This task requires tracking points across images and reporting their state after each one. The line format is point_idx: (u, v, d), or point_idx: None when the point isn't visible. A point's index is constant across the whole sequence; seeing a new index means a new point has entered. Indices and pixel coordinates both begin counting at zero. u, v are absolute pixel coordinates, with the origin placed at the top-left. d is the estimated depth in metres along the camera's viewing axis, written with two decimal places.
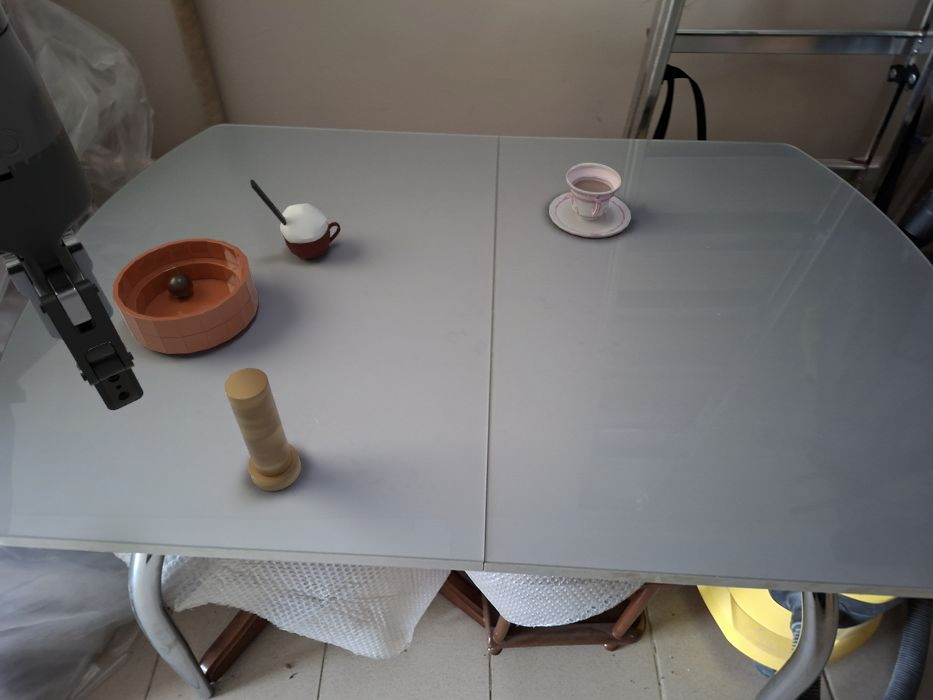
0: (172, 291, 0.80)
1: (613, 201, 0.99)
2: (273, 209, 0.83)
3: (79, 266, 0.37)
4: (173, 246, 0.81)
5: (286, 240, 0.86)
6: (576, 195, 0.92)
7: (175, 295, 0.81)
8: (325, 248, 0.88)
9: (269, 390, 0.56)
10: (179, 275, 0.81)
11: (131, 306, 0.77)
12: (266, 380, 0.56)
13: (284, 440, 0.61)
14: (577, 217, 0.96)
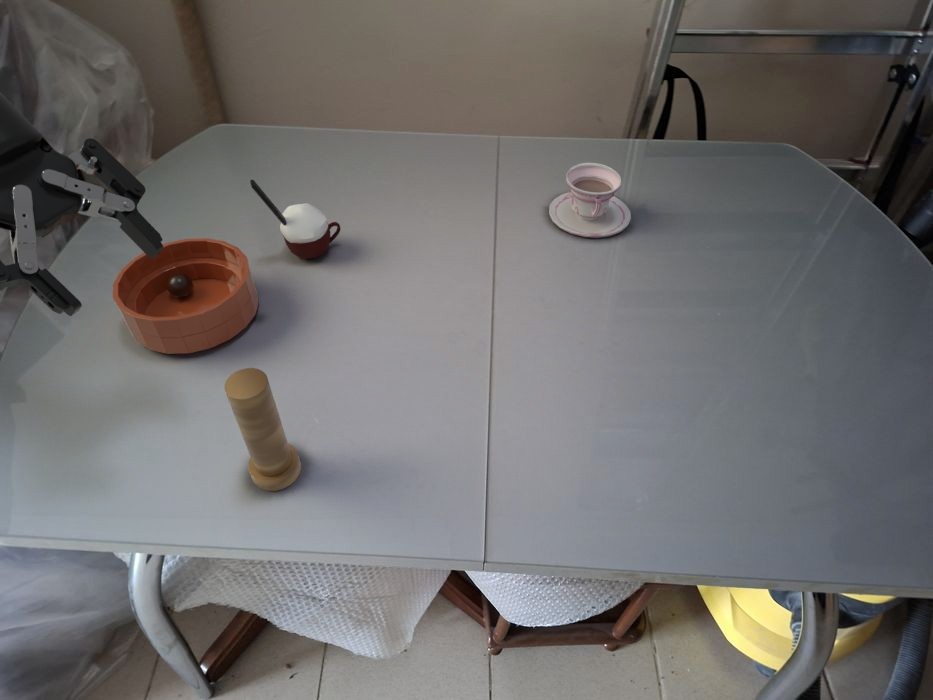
0: (172, 291, 0.80)
1: (613, 201, 0.99)
2: (273, 209, 0.83)
3: None
4: (173, 246, 0.81)
5: (286, 240, 0.86)
6: (576, 195, 0.92)
7: (175, 295, 0.81)
8: (325, 248, 0.88)
9: (269, 390, 0.56)
10: (179, 275, 0.81)
11: (131, 306, 0.77)
12: (266, 380, 0.56)
13: (284, 440, 0.61)
14: (577, 217, 0.96)
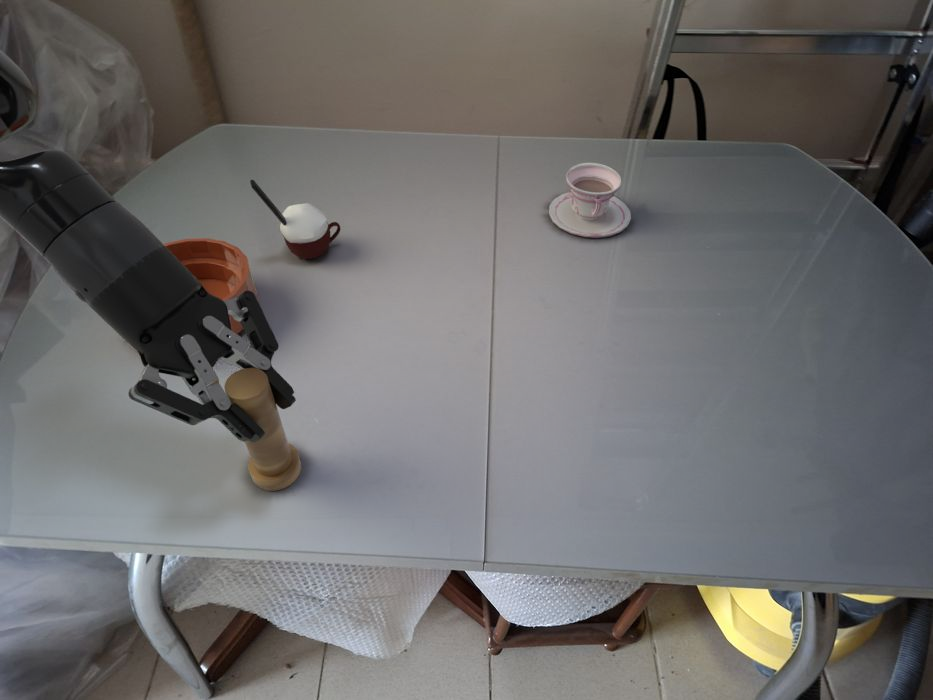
0: None
1: (613, 201, 0.99)
2: (273, 209, 0.83)
3: None
4: (173, 246, 0.81)
5: (286, 240, 0.86)
6: (576, 195, 0.92)
7: None
8: (325, 248, 0.88)
9: (269, 390, 0.56)
10: None
11: None
12: (266, 380, 0.56)
13: (284, 440, 0.61)
14: (577, 217, 0.96)
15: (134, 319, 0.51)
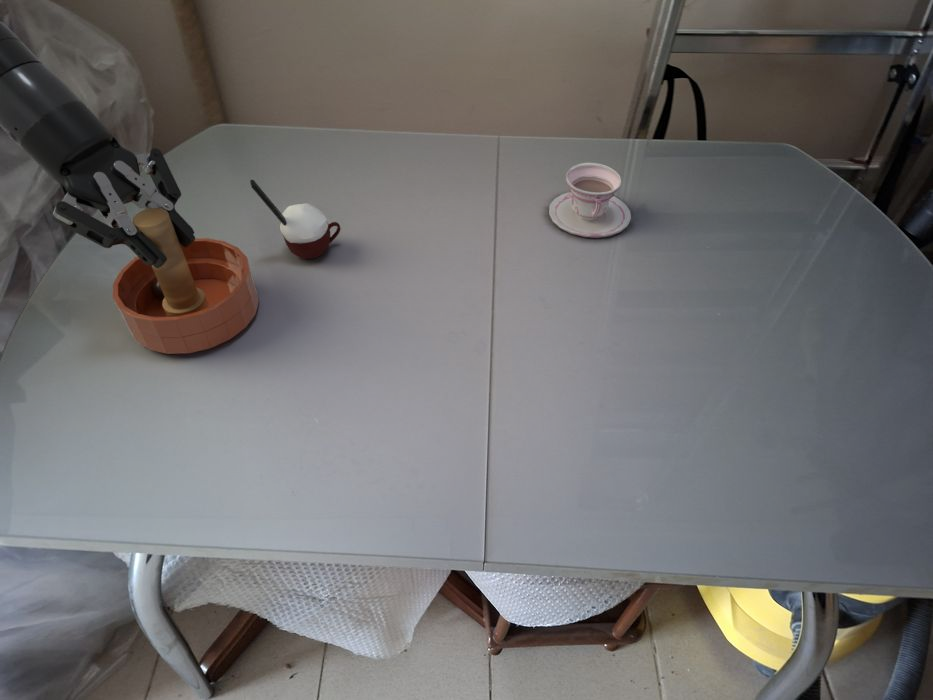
0: (161, 299, 0.81)
1: (613, 201, 0.99)
2: (273, 209, 0.83)
3: None
4: None
5: (286, 240, 0.86)
6: (576, 195, 0.92)
7: None
8: (325, 248, 0.88)
9: (170, 224, 0.70)
10: None
11: (131, 306, 0.77)
12: (167, 215, 0.69)
13: (189, 276, 0.75)
14: (577, 217, 0.96)
15: (55, 153, 0.64)
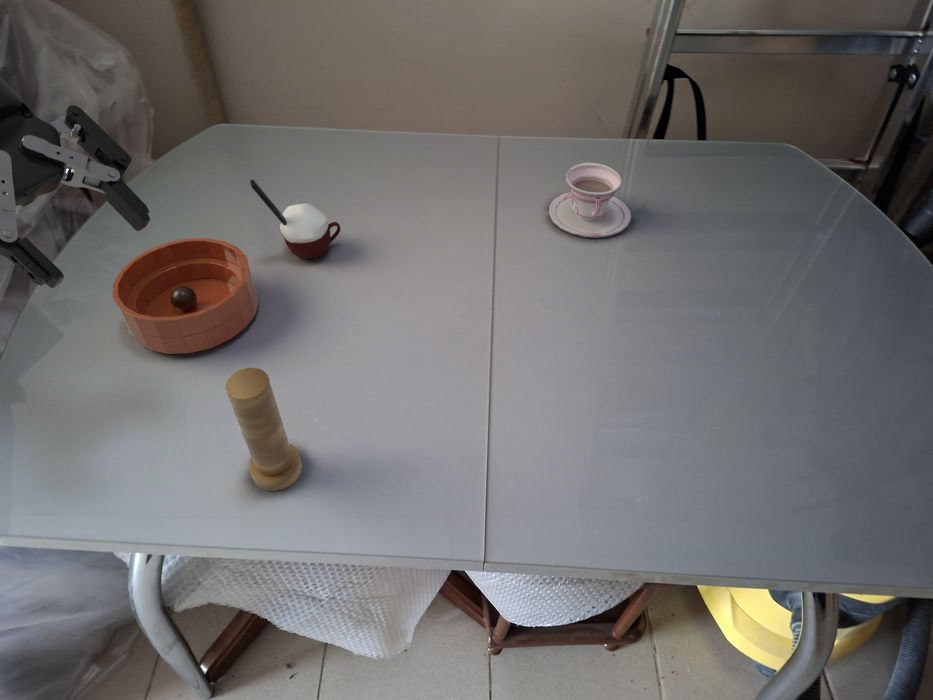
0: None
1: (613, 201, 0.99)
2: (273, 209, 0.83)
3: None
4: (173, 246, 0.81)
5: (286, 240, 0.86)
6: (576, 195, 0.92)
7: None
8: (325, 248, 0.88)
9: (270, 390, 0.56)
10: (184, 305, 0.79)
11: (131, 306, 0.77)
12: (267, 380, 0.56)
13: (285, 440, 0.61)
14: (577, 217, 0.96)
15: None
